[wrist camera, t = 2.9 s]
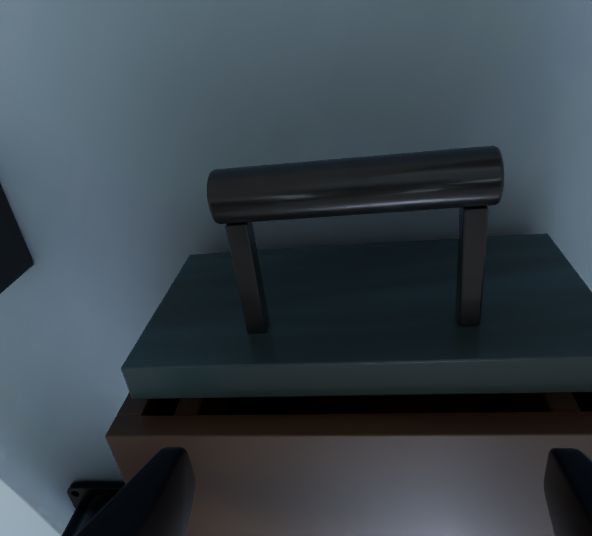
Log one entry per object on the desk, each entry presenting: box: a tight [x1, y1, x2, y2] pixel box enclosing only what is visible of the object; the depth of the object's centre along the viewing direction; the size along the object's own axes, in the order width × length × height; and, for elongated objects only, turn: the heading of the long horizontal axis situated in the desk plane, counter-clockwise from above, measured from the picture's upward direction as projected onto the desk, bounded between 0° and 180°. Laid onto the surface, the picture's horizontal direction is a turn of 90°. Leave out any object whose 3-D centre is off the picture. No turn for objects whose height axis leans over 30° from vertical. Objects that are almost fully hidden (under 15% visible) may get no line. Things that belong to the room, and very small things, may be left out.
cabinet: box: [105, 392, 592, 536], centre depth 21 cm, size 16×15×9 cm
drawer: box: [121, 146, 592, 415], centre depth 18 cm, size 19×13×7 cm
